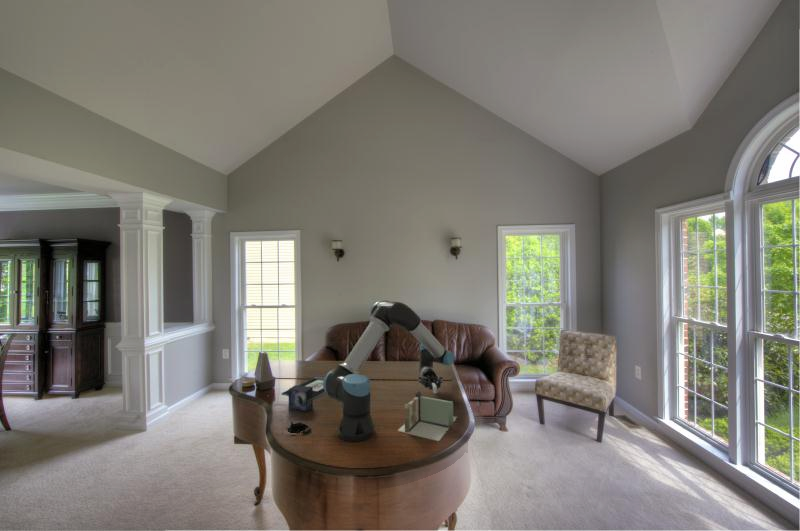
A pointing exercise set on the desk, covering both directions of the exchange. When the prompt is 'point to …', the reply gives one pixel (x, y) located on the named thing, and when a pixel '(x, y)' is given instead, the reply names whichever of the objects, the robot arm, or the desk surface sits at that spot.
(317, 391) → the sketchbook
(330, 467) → the desk surface
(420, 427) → the card
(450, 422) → the hinged panel
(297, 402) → the small box
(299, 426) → the black jagged lump
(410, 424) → the fixed fence
